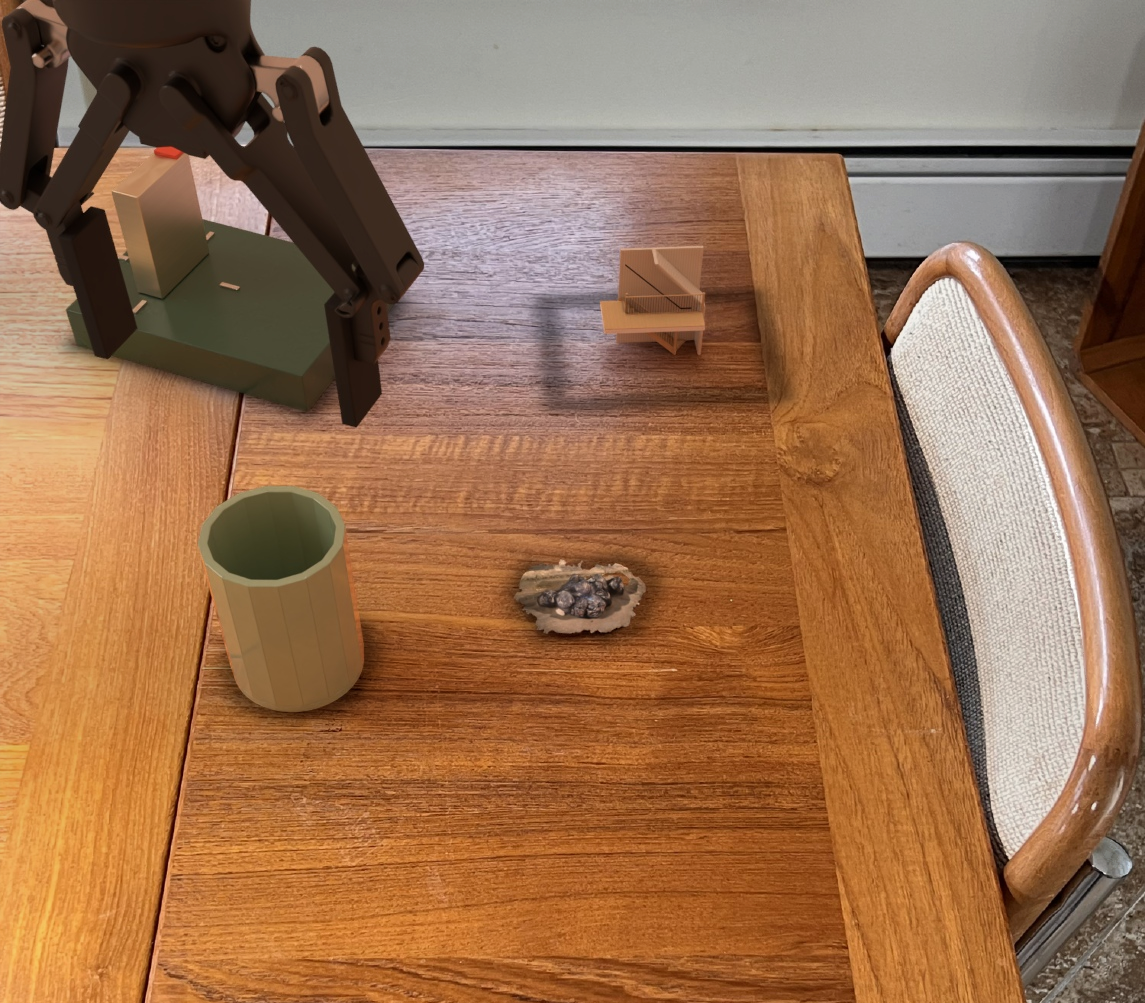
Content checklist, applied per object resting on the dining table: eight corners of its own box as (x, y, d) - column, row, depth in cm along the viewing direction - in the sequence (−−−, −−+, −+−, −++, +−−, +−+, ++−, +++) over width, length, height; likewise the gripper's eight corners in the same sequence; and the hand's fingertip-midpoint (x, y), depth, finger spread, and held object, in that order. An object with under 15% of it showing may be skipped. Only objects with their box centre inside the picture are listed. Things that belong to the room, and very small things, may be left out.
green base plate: (69, 344, 98) (56, 305, 95) (170, 244, 105) (160, 205, 103) (308, 413, 94) (301, 374, 91) (395, 304, 101) (392, 265, 99)
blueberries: (496, 585, 85) (495, 562, 83) (612, 539, 87) (613, 517, 86) (551, 660, 81) (551, 637, 80) (670, 610, 84) (672, 588, 82)
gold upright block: (162, 299, 96) (136, 193, 90) (137, 292, 97) (109, 186, 90) (209, 252, 100) (187, 147, 93) (185, 245, 100) (161, 140, 94)
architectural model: (703, 371, 97) (713, 276, 91) (602, 375, 97) (606, 279, 91) (696, 340, 99) (706, 245, 93) (598, 344, 99) (601, 248, 93)
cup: (208, 689, 80) (171, 561, 72) (274, 600, 84) (245, 470, 76) (326, 729, 78) (300, 603, 70) (386, 637, 82) (369, 508, 74)
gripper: (485, -87, 52) (503, 390, 68) (-85, -191, 57) (62, 275, 74) (394, 3, 47) (437, 488, 64) (-213, -118, 53) (-26, 358, 70)
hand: (236, 375), depth 69 cm, fingers open, 13 cm apart
